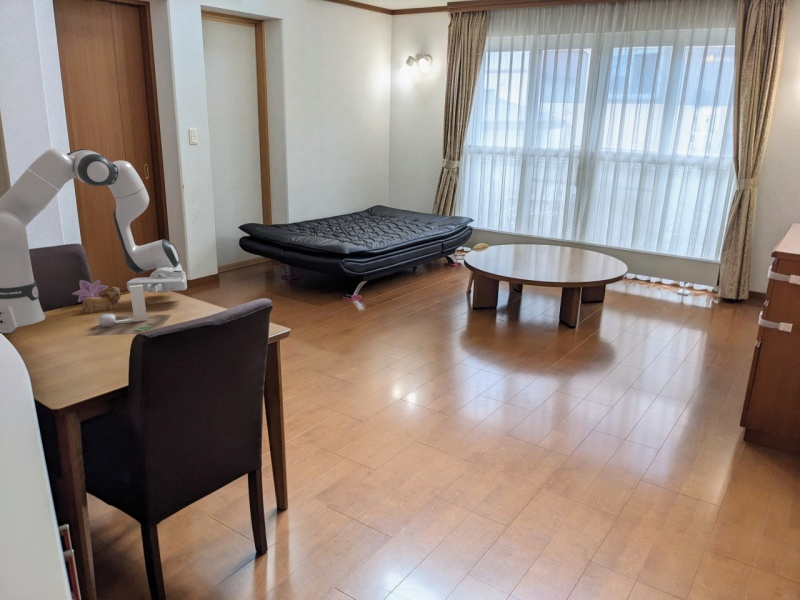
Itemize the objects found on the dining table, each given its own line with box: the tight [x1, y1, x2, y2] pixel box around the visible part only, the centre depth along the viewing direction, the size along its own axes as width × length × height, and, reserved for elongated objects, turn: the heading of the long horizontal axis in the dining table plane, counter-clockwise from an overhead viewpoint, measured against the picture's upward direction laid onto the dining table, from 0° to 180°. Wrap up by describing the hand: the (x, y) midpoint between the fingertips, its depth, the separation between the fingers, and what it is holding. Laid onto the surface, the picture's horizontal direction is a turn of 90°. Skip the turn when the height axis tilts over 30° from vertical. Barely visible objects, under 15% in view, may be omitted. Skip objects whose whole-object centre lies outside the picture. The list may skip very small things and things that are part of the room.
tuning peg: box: [97, 285, 147, 327], centre depth 197 cm, size 14×5×12 cm, turn 116°
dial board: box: [86, 314, 172, 336], centre depth 197 cm, size 21×19×2 cm
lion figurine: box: [81, 286, 122, 314], centre depth 212 cm, size 15×5×9 cm, turn 131°
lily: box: [71, 279, 110, 303], centre depth 225 cm, size 12×12×10 cm
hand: (151, 290), depth 210 cm, fingers closed
